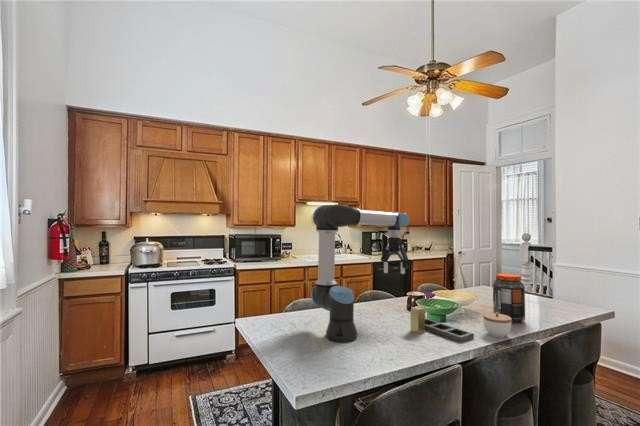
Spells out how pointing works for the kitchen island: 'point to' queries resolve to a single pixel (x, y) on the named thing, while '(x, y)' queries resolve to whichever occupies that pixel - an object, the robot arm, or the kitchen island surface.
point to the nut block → (418, 319)
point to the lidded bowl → (497, 324)
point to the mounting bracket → (428, 294)
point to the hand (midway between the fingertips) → (394, 273)
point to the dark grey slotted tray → (448, 331)
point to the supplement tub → (509, 296)
